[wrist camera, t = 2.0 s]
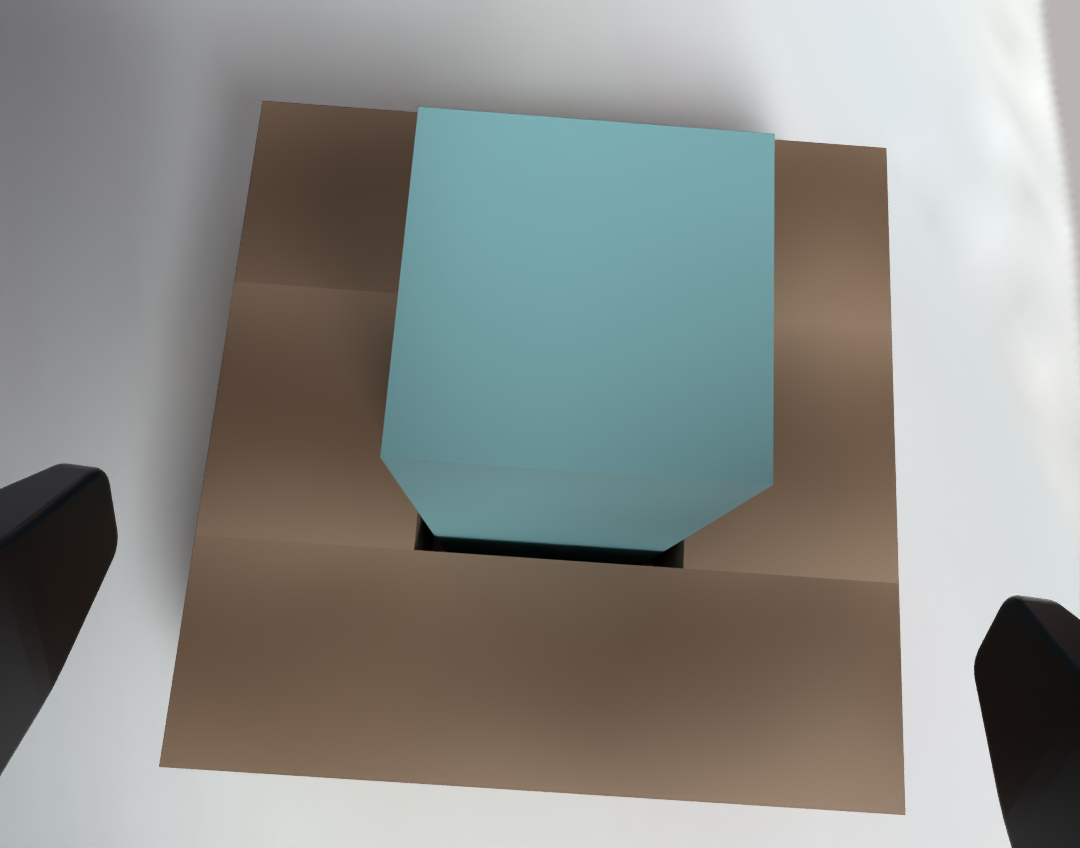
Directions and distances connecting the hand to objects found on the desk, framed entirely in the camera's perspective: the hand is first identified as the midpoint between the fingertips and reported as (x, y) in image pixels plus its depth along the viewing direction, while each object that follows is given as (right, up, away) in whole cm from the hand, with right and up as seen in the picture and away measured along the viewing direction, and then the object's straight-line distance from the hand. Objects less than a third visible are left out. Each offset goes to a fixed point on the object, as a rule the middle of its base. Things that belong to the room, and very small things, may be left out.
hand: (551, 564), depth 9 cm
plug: (0, 0, +10) cm, 10 cm away
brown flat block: (0, 0, +11) cm, 11 cm away
